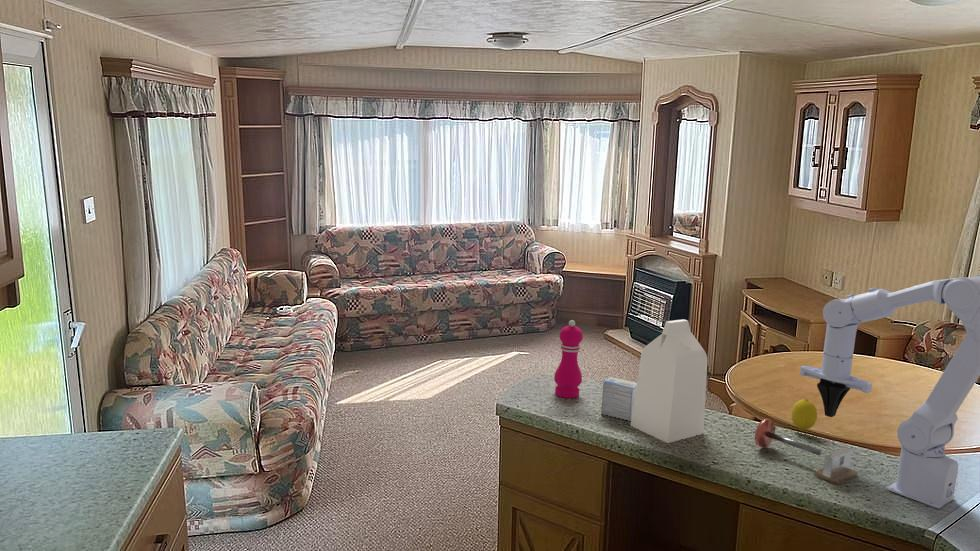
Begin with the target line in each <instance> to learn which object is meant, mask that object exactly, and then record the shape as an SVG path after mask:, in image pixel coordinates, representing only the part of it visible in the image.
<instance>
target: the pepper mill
mask: <svg viewBox="0 0 980 551" xmlns="http://www.w3.org/2000/svg"><path fill="white" fill-rule="evenodd" d="M575 321H576V320H573V319H571V320H569V321H568V325H566V326H564V327H563V328H561V330H560V331H559V335H558V336H559V340H560V341H561V343H560V350H561V353H562V354H561V359H560V363H559V365H558V366H557V369H556V370H555V372H554V375H553V376H554V377H553V379H554V382H555V384H556V385H555V390H554V393H555V395H556V397H559V398H562V397H563V399H575V397H576V398H578V397H579V396H580V388H579V386H581V384H582V381H583V375H582V372H581V368H580V367H579V362H578V354H579V352H580V351H581V348H580V347H581V345H580V343H582V341H583V339H584V337H583V336H584V334H583V331H582V329H581V328H579V327H578V326H576V322H575Z"/></svg>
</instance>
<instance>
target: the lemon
mask: <svg viewBox="0 0 980 551" xmlns="http://www.w3.org/2000/svg"><path fill="white" fill-rule="evenodd" d="M817 418H818V411H817V408H816V405H815V404H814V403H813V402H812V401H811V400H809V399H808V398H803V399H799V400H797V401H796V402H795V403H794V405H793V407H792V409H791V422H792V423H793V425H794V427H796V428H798V429H799V430H800V432H801V431H802V432H804V431H805V430H809V429H811V428H813V427H814V425H815V424H816V423H817Z"/></svg>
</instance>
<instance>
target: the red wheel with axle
mask: <svg viewBox="0 0 980 551" xmlns="http://www.w3.org/2000/svg"><path fill="white" fill-rule="evenodd" d="M774 440H775V441H778V442H780V443H783V444H786V445H789V446H792V447H795V448H796V449H800V450H803V451H805V452H808V453H811V454H813V455H816V456H821V455H822V450H821V449H818V448H816V447H814V446H813V447H812V446H810V445H807V444H805V443H802V442H799V441H797V440H794V439H791V438H788V437H786V436H782V435H780V434H777V433H776V424H775V422H774V420H772V419H770V418H763V419H762V420H761V421H760V422H759V423H758V425H757V427H756V429H755V433H754V442H755V445H756V446H758V447H760V448H762V449H766V448H768V447H769V446H770V444H772V442H773V441H774Z"/></svg>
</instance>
